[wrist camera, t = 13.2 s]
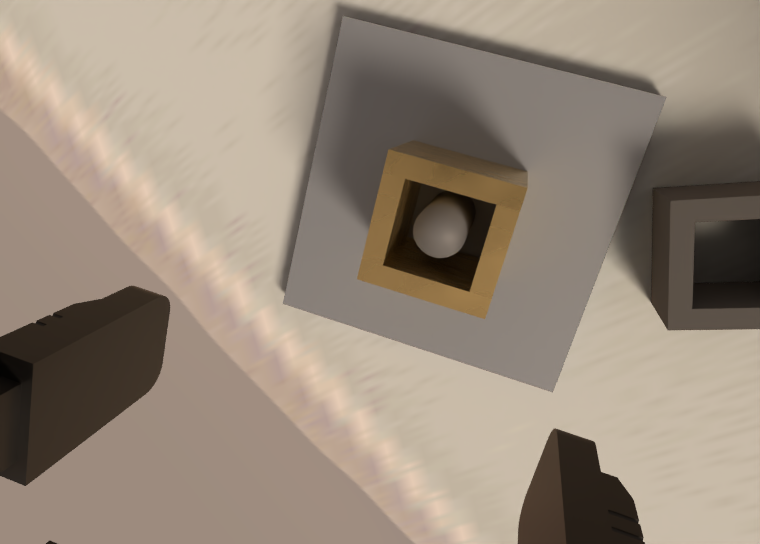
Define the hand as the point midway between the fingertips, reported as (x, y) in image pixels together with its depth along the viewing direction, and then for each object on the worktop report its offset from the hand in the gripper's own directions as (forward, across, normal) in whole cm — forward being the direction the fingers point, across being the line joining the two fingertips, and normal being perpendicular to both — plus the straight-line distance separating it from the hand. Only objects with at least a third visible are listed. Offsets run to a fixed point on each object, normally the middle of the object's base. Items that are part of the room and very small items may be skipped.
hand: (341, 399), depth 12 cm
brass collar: (+21, 0, 0) cm, 21 cm away
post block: (+22, 0, 0) cm, 22 cm away
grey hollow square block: (+22, -13, -2) cm, 26 cm away
